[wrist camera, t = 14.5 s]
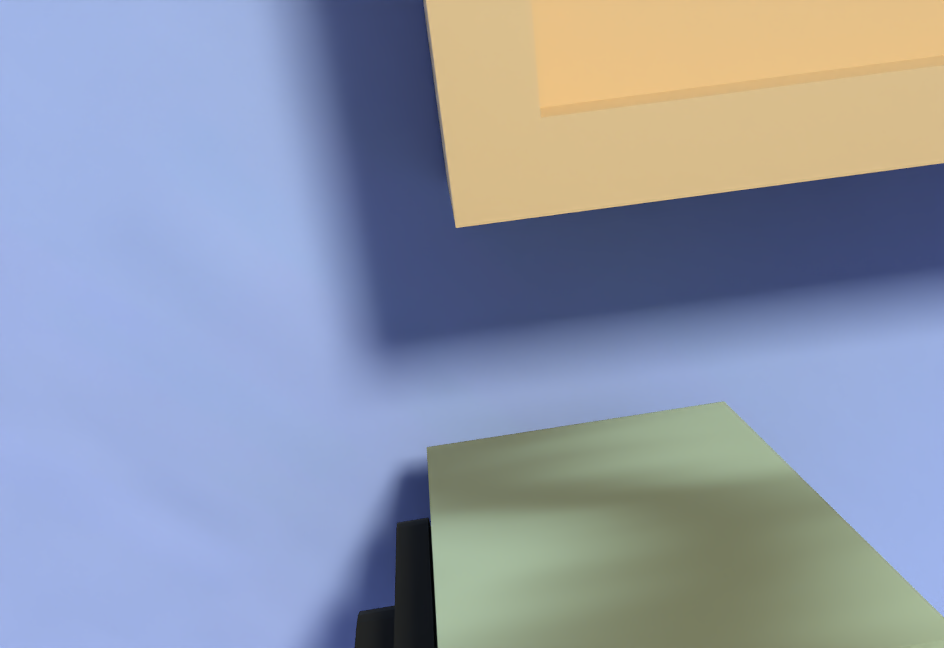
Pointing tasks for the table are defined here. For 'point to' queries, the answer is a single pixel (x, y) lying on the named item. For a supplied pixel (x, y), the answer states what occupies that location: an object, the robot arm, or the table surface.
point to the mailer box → (676, 97)
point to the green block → (653, 544)
